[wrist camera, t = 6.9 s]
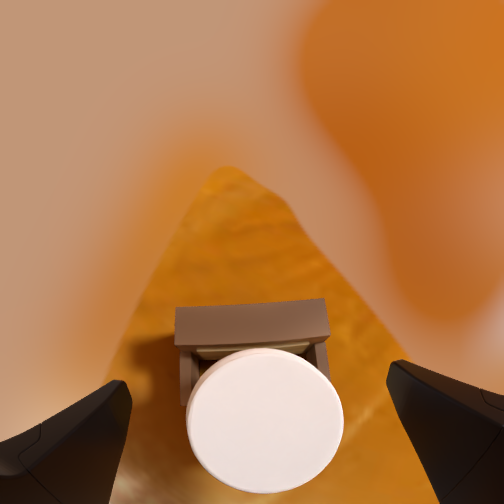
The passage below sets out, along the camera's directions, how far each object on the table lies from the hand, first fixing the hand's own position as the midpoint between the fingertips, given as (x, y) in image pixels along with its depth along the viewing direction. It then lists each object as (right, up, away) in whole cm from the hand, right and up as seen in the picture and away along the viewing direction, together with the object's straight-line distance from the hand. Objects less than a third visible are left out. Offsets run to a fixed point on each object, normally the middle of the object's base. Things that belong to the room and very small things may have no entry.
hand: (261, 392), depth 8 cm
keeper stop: (0, -2, +8) cm, 8 cm away
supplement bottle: (0, -5, +6) cm, 8 cm away
